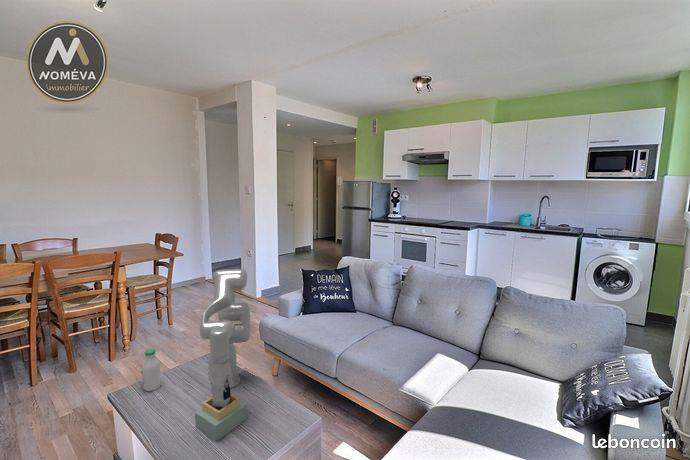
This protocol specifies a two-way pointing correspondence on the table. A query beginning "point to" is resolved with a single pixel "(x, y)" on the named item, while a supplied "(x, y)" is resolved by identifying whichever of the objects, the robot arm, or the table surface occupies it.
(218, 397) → the skincare box
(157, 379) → the milk bottle
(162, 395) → the table surface
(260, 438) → the table surface
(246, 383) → the table surface
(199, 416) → the green yellow rimmed box
